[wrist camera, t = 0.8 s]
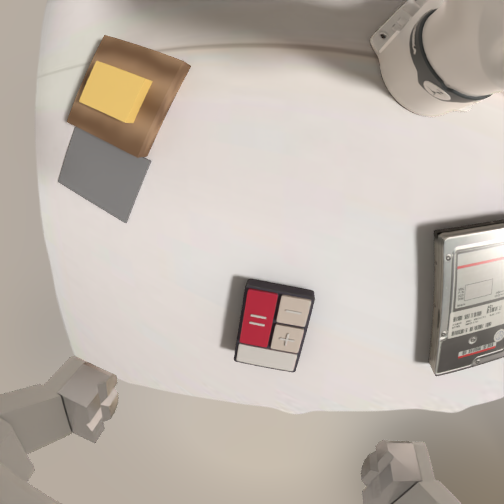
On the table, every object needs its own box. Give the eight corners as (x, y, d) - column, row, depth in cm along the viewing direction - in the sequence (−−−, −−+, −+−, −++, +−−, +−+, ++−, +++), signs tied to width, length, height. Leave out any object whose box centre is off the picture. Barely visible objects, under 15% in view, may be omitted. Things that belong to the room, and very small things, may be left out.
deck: (115, 39, 42) (104, 34, 39) (191, 66, 43) (183, 61, 39) (78, 121, 48) (66, 121, 45) (147, 156, 48) (137, 157, 45)
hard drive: (516, 216, 42) (529, 223, 38) (501, 343, 50) (510, 354, 46) (432, 230, 46) (443, 238, 42) (427, 363, 54) (433, 377, 50)
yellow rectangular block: (104, 63, 41) (96, 60, 38) (152, 81, 41) (145, 78, 39) (87, 102, 43) (78, 101, 41) (133, 123, 43) (125, 122, 41)
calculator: (315, 299, 49) (294, 375, 53) (314, 288, 53) (295, 361, 57) (244, 285, 50) (232, 363, 54) (248, 276, 54) (236, 350, 58)
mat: (77, 123, 48) (76, 123, 48) (151, 161, 49) (150, 161, 48) (59, 181, 52) (58, 181, 52) (126, 222, 53) (125, 223, 52)
